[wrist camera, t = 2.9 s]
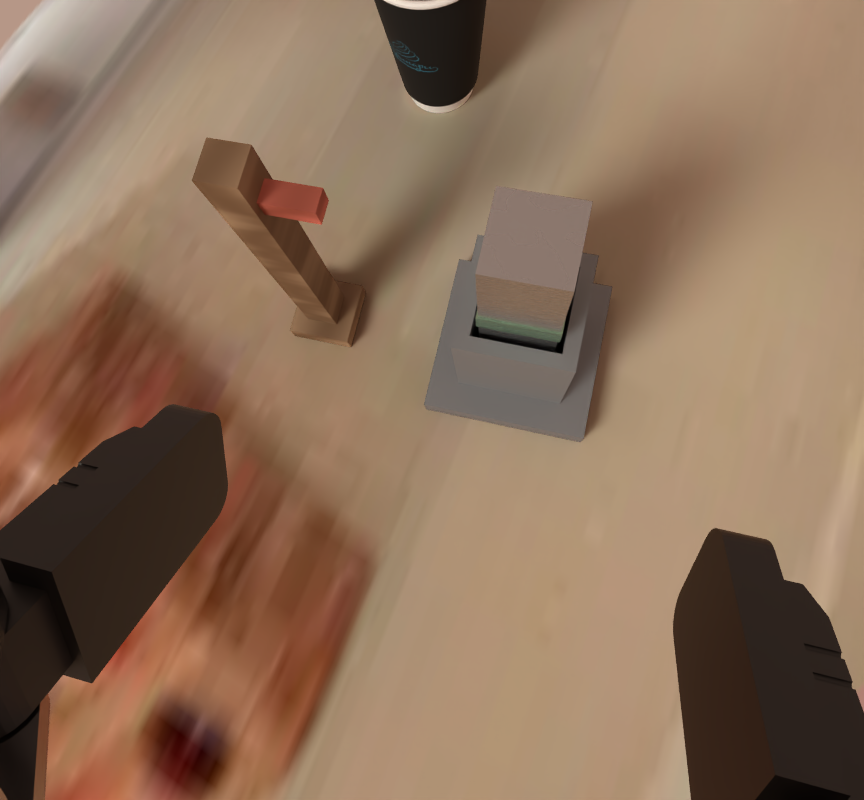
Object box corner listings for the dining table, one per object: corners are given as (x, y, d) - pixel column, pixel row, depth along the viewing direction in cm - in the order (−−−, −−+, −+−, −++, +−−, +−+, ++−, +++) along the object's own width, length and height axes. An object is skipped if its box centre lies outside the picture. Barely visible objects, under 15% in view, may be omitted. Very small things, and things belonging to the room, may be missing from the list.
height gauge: (295, 335, 42) (161, 198, 25) (311, 282, 43) (191, 112, 26) (375, 352, 42) (293, 221, 24) (389, 297, 42) (320, 133, 25)
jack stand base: (426, 409, 40) (408, 373, 32) (460, 268, 42) (452, 198, 34) (580, 442, 39) (605, 414, 30) (608, 295, 41) (639, 229, 32)
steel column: (479, 367, 39) (472, 275, 25) (493, 305, 39) (494, 183, 26) (546, 381, 38) (576, 295, 24) (559, 317, 39) (595, 199, 25)
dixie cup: (385, 133, 45) (352, 8, 34) (390, 41, 47) (360, -106, 36) (494, 130, 44) (495, 1, 34) (496, 36, 46) (497, -115, 35)
